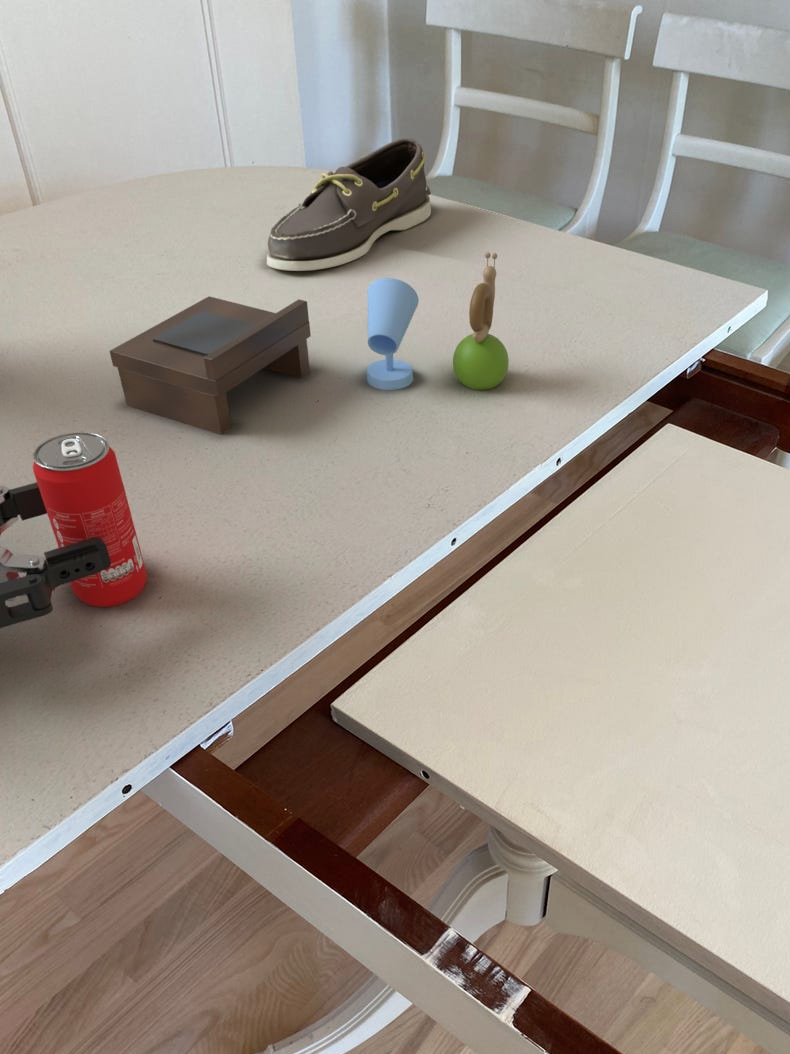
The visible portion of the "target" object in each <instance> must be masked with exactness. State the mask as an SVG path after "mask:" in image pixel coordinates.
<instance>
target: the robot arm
mask: <svg viewBox="0 0 790 1054" xmlns="http://www.w3.org/2000/svg"><path fill="white" fill-rule="evenodd" d="M43 515H48V514H47V511H46V508H45V505H44V502H43V499H42V496H41V493H40V490H39V487H38V484H37V481H35V482H34V483H29V484H26V485H22V486H18V487H14V488H10V489H9V487H8V486H6V485H0V536H1V535H2V534H3V533H4V532H5V531H6V530H8V529H9V528H10V527H12V526H13V525H14V524H15V523H16V522H17V521H19V519H20V520H21V521H22V522H23V521H26V520H29V519H33V518H36V517H40V516H43ZM43 554H44V557H43V556H42V555H41V556H40V555H29V554H28V555H27V554H23V555H22V554H14V553H13V552H11V551H10V549H8V548H5V547H0V629H3V628H6V627H10V626H14V625H16V624H20V623H22V622H26V621H31V620H33V619H37V618H41V617H44V616H47V615H49V614H51V613H52V612H53V609H54V606H53V604H52V595H53V594H54V593H55V592H56V588H58V587H60V586H62V585H65V584H68V583H70V582H72V581H75V580H78V579H81V578H82V577H83V578H84V577H88V576H91V575H94V574H97V573H99V572H101V571H102V570H105V569H107V568H109V567H110V565H111V560H110V557H109V553H108V550H107V546H106V544H105V543H104V541H103V540H102V539H101V538H100V537H94V538H90V539H87V540H84V541H81V542H77V543H74V544H71V545H67V546H64V547H61V548H59V547H57V548H54V549H51V550H48V551H45V552H43ZM19 573H21V574H25V575H24V576H20V574H19ZM17 597H26V598H27V600H28V601H27V602H24V603H21V604H17V605H13V606H8V605H7V603H6V602H13V601H15V600H16V599H17Z"/></svg>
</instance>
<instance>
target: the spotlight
mask: <svg viewBox="0 0 790 1054" xmlns="http://www.w3.org/2000/svg"><path fill="white" fill-rule="evenodd" d="M366 292H367V295H366V296H367V297H366V298H367V299H366V300H367V345H368V347H369V349H370V350H371V351H373V353H376V354H378V355H382V356H384V359H383V360H382V359H381V360H377V361H374V362H373V363H371V364H369V365H368V367H366V380H367V383H368V384H369V385H370V386H371V387H372V388H375V389H379V390H382V391H383V390H384V391H395V390H401V389H404V388H406V387H409V386H410V385H411V384H412V383H413V382H414V376H413V375H414V371H413V366H411V365H410V364H409V363H408V362H406V361H403V360H399V359H394V354H396V353H397V352H398V350H399V348H400V346H401V344H402V341H403V340H404V337H405V335H406V333H407V330H408V328H409V325H410V323H411V321H412V319H413V317H414V314H415V312H416V310H417V308H418V306H419V296H418V293H417V291H416V290H415V289H414V288H413V286H411V285H410V284H409V283H407V282H405V281H403V280H402V279H398V278H394V277H381V278H377V279H376V280H373V281H372V282H371V283H370V284H369V285H368V288H367V291H366Z"/></svg>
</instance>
